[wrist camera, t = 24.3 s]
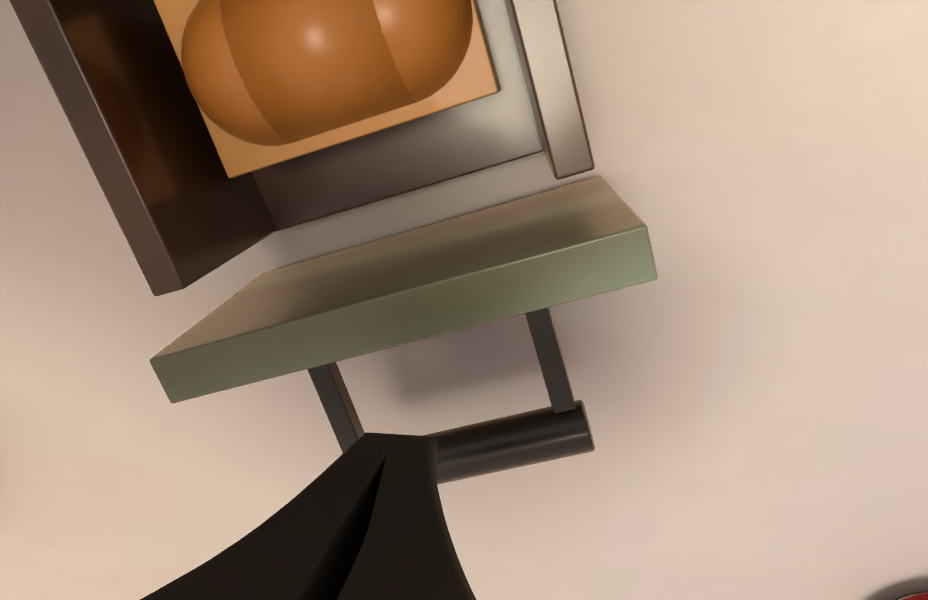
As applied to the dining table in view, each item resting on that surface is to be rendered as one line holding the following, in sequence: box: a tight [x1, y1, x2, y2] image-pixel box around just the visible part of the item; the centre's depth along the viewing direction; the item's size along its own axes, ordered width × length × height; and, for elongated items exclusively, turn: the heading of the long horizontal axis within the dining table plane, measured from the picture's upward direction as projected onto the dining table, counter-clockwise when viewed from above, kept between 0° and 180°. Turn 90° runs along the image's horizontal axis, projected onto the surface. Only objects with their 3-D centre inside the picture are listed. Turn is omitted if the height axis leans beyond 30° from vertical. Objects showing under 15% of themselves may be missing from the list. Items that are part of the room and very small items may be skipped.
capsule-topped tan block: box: [154, 0, 501, 178], centre depth 15 cm, size 7×4×4 cm, turn 107°
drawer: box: [10, 0, 658, 484], centre depth 15 cm, size 18×11×7 cm, turn 17°
